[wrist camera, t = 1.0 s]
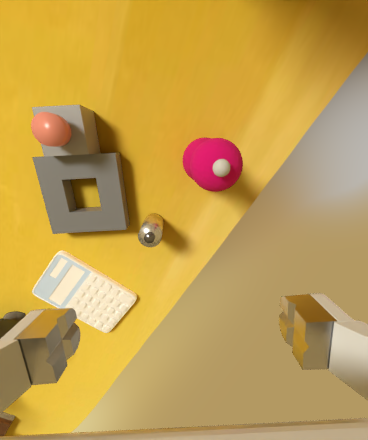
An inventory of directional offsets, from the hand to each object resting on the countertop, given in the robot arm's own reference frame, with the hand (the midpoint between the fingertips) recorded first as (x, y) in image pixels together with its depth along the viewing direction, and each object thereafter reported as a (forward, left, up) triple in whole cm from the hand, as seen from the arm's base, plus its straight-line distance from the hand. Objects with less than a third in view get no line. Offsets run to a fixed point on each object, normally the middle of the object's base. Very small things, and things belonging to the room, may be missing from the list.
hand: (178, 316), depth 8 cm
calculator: (+24, -22, -35) cm, 48 cm away
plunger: (-10, -17, -27) cm, 34 cm away
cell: (+8, -5, -34) cm, 36 cm away
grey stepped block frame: (-3, -17, -34) cm, 38 cm away
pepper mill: (-4, +5, -34) cm, 35 cm away
